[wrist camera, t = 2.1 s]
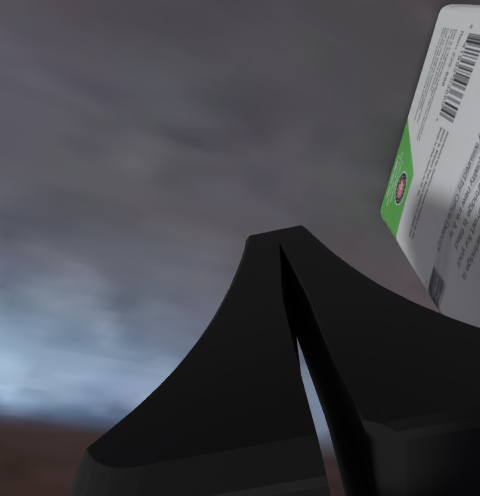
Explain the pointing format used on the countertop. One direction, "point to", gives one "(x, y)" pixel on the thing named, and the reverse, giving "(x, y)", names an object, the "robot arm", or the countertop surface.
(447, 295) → the ink box
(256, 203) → the countertop surface
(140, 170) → the countertop surface
